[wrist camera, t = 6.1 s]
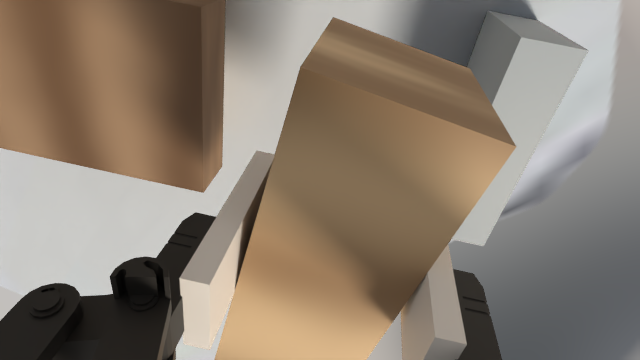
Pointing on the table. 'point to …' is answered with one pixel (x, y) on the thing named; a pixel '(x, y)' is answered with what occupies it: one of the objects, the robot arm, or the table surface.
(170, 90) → the slab
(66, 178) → the table surface
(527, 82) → the block
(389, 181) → the skid
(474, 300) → the robot arm
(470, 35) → the table surface
